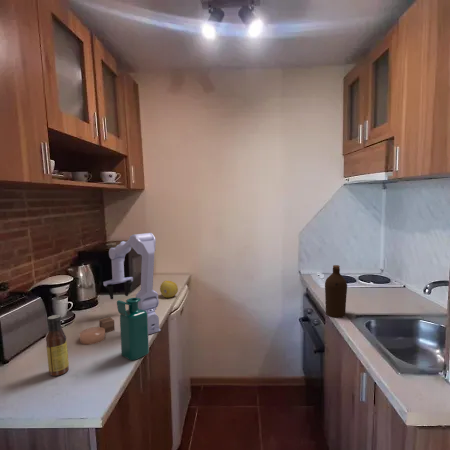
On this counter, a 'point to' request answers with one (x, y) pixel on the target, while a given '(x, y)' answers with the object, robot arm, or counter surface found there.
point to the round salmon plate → (92, 335)
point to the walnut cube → (107, 324)
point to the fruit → (168, 289)
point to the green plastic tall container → (133, 329)
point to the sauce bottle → (56, 347)
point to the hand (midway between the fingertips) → (119, 297)
